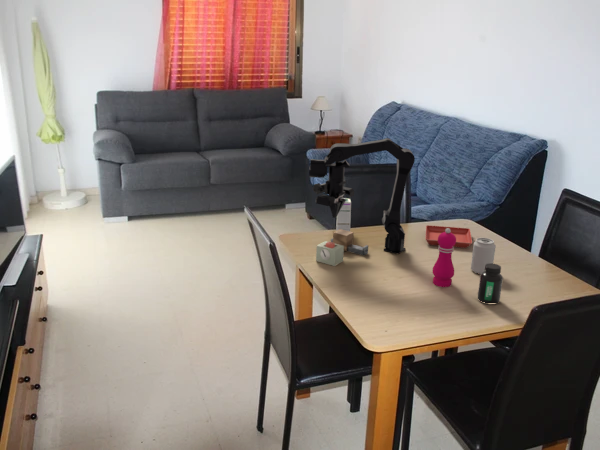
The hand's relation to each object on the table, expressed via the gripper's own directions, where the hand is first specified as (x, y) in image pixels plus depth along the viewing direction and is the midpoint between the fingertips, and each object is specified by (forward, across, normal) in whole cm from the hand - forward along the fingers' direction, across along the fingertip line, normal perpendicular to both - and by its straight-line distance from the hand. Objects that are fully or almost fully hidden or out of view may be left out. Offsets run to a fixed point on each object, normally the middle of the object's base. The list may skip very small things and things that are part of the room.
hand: (334, 217), depth 228 cm
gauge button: (+10, +12, +6) cm, 17 cm away
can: (+13, -14, +54) cm, 57 cm away
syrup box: (+13, -17, -6) cm, 22 cm away
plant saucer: (+13, -37, +32) cm, 51 cm away
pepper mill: (+13, +5, +47) cm, 49 cm away
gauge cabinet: (+12, +12, +6) cm, 18 cm away
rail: (+12, -2, +6) cm, 14 cm away
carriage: (+12, -2, +3) cm, 13 cm away
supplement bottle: (+13, +8, +64) cm, 66 cm away
